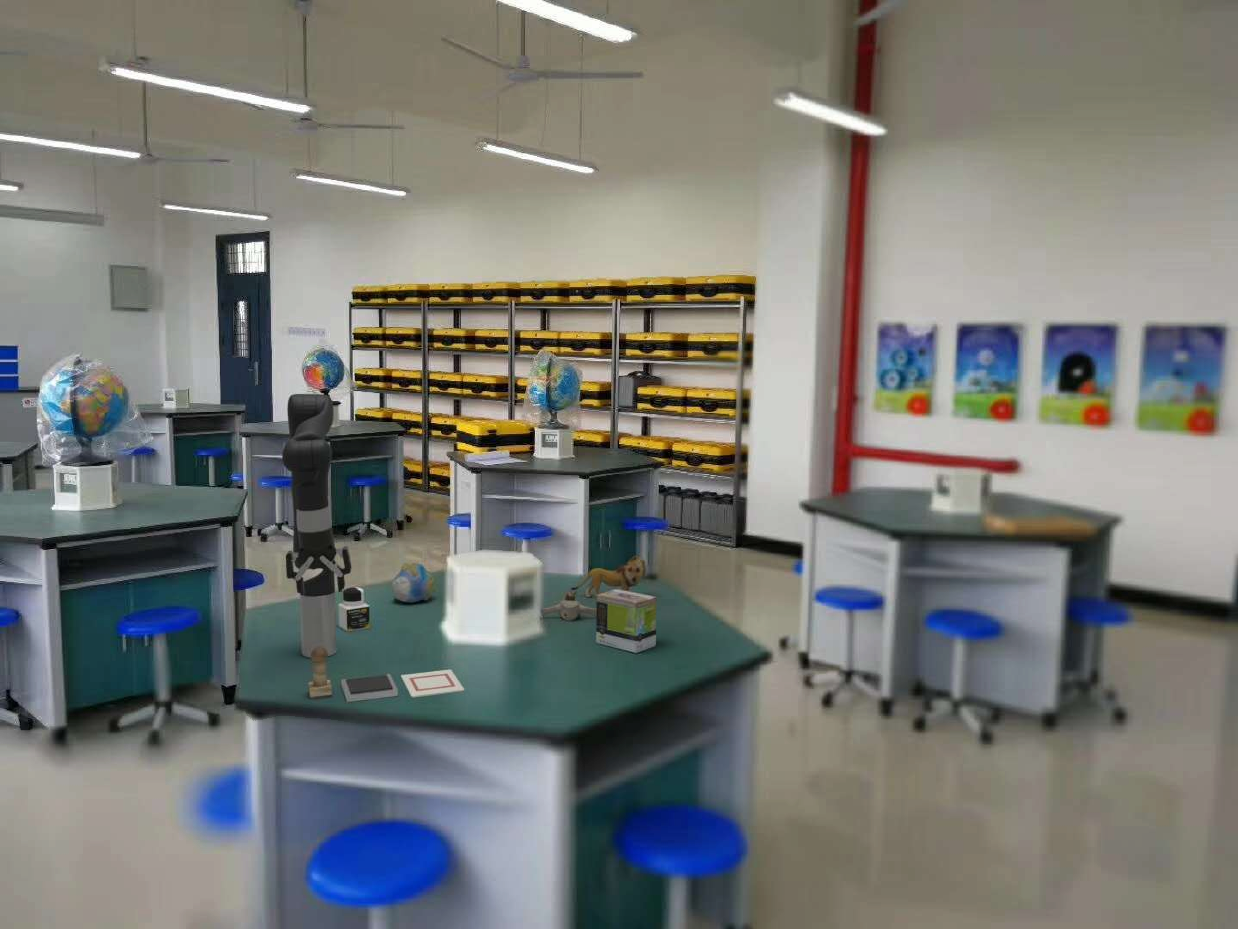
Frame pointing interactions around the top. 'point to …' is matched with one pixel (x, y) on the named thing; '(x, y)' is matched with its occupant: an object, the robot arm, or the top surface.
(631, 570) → the animal model
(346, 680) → the ink pad
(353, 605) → the medicine bottle
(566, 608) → the vertebra
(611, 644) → the tea box
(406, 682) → the card
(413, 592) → the decorative rock
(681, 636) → the top surface
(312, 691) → the stamp
